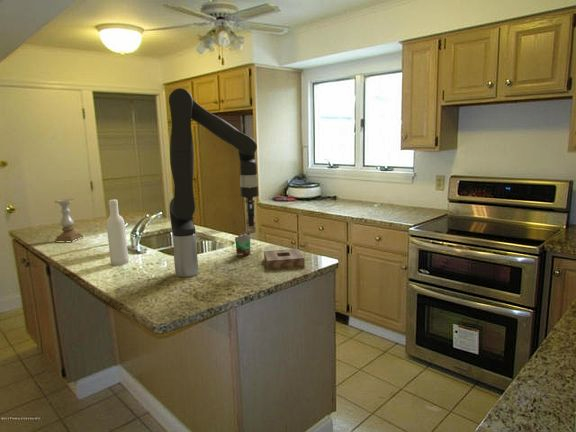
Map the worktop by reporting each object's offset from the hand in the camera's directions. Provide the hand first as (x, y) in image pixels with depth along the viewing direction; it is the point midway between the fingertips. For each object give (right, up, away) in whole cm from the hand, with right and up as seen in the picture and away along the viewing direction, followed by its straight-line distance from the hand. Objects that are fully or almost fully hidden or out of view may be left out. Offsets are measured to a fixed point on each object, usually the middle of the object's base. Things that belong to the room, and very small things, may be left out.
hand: (250, 224), depth 179 cm
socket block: (+14, -17, +7) cm, 24 cm away
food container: (-5, -15, +24) cm, 28 cm away
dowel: (0, -3, +1) cm, 3 cm away
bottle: (-63, -19, +15) cm, 67 cm away
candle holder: (-113, -11, +66) cm, 131 cm away
